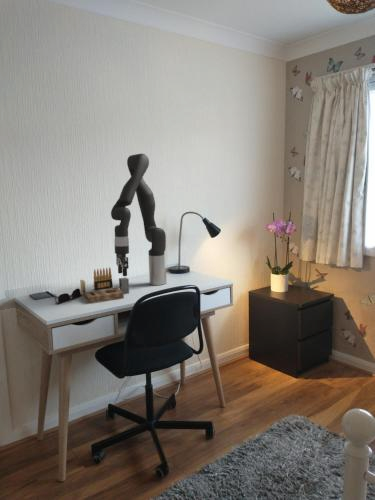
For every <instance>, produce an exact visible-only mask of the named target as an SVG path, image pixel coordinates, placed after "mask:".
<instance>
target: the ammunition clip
mask: <svg viewBox="0 0 375 500" xmlns="http://www.w3.org/2000/svg"><path fill="white" fill-rule="evenodd" d="M112 275H113V274H112V270H111V267H106V268H104V267H103V268H97V270H96V269H94V270H93V291H96V290H103V289H111V288H114V286H113V277H112Z"/></svg>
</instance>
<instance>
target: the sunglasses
mask: <svg viewBox="0 0 375 500" xmlns="http://www.w3.org/2000/svg"><path fill="white" fill-rule="evenodd" d="M45 292H46V294H47V295H49V296H50V297H53V298H54V299H55V300H54V301H55V303H56V305H61V304H64V303H68V302H71V301H73V300H76V299H78V298H80V297H83V296H82V295H81V288H75V289H74V290H73V291H72V293H71V294H69V293H65V292H63V293H61V294H59V295H58V296H57V295H54V294H52V293H50V292H49V291H47V290H46V291H45ZM56 299H57V300H56Z"/></svg>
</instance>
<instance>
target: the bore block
mask: <svg viewBox="0 0 375 500" xmlns="http://www.w3.org/2000/svg"><path fill="white" fill-rule="evenodd" d="M83 295H84V296H83V299H84V300H85V301H86V302H87V304H95V303H101V302H109V301H114V300H122V299H125V297H124V296H125V294H124V293H123V292H122V291H121V290H120V288H118V287H113V288H109V289H102V290H96V291H95V290H89V291H86V292H83Z"/></svg>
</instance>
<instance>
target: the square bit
mask: <svg viewBox="0 0 375 500" xmlns="http://www.w3.org/2000/svg"><path fill="white" fill-rule="evenodd" d="M118 284H119V288H118V289H119V290H121V291H122V292H123V293H124V295H127V294H128V295H129V294H130V285H129V278H128V277H120V278H118Z"/></svg>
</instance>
